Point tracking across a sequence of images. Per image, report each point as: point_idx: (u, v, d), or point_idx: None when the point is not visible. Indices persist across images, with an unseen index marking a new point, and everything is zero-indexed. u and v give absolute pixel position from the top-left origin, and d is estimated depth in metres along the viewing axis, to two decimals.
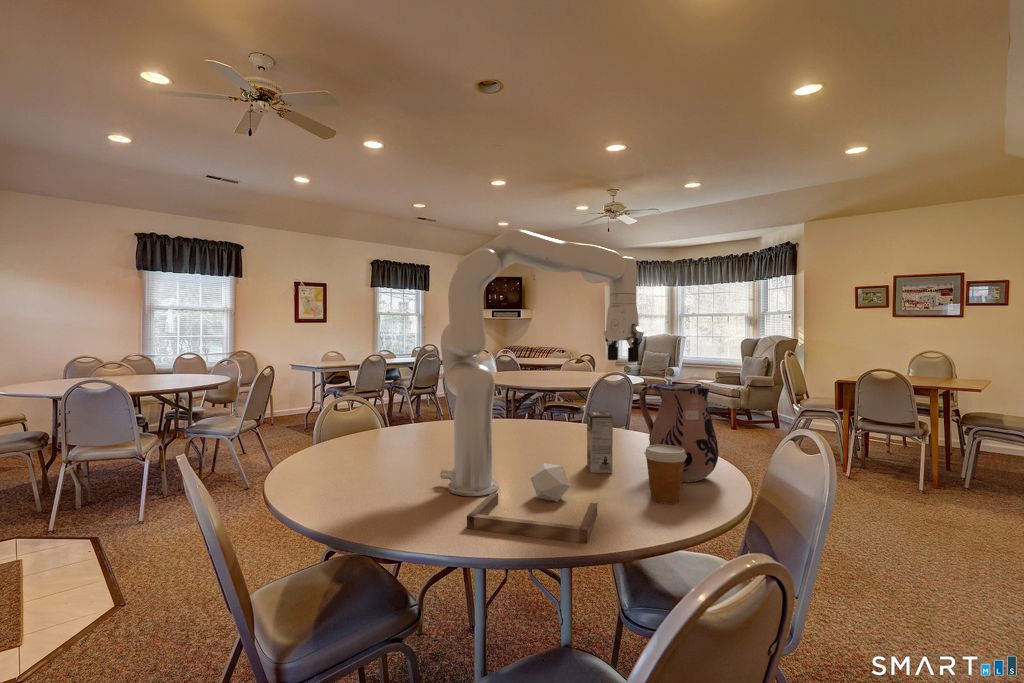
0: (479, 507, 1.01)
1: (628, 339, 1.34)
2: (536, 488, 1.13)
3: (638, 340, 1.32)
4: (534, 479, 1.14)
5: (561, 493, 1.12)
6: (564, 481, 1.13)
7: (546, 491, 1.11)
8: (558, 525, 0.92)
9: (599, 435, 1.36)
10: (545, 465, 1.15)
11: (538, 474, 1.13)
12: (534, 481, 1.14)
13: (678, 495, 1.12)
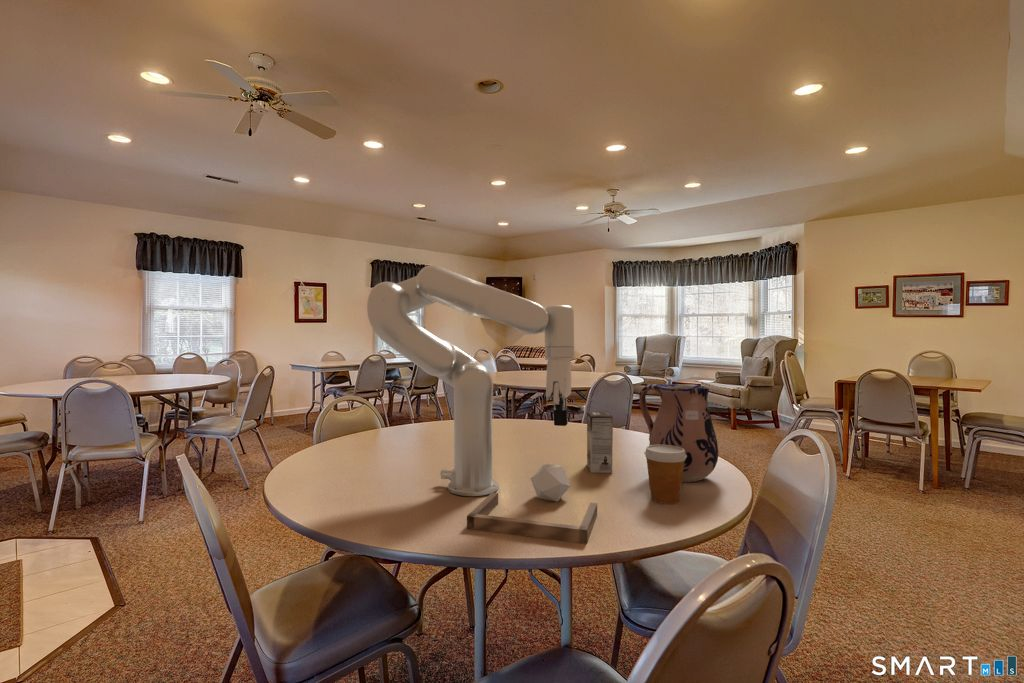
0: (479, 507, 1.01)
1: (553, 400, 1.23)
2: (536, 488, 1.13)
3: None
4: (534, 479, 1.14)
5: (561, 493, 1.12)
6: (564, 481, 1.13)
7: (546, 491, 1.11)
8: (558, 525, 0.92)
9: (599, 435, 1.36)
10: (545, 465, 1.15)
11: (538, 474, 1.13)
12: (534, 481, 1.14)
13: (678, 495, 1.12)
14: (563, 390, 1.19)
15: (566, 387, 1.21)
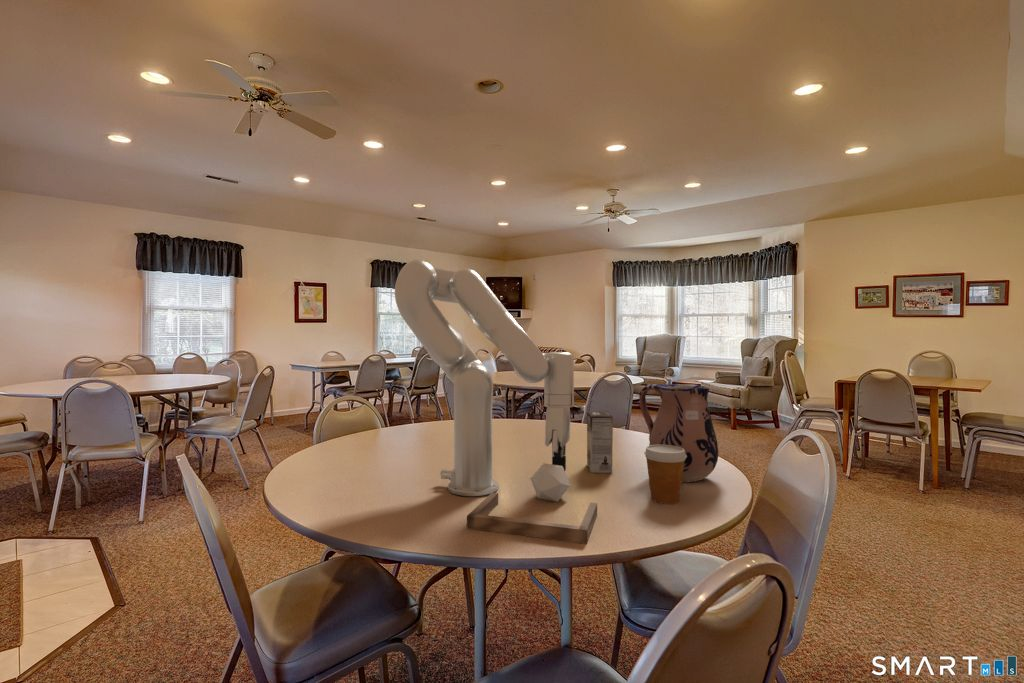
0: (479, 507, 1.01)
1: None
2: (536, 488, 1.13)
3: None
4: (534, 479, 1.14)
5: (561, 493, 1.12)
6: (564, 481, 1.13)
7: (546, 491, 1.11)
8: (558, 525, 0.92)
9: (599, 435, 1.36)
10: (545, 465, 1.15)
11: (538, 474, 1.13)
12: (534, 481, 1.14)
13: (678, 495, 1.12)
14: (562, 439, 1.19)
15: (565, 435, 1.21)
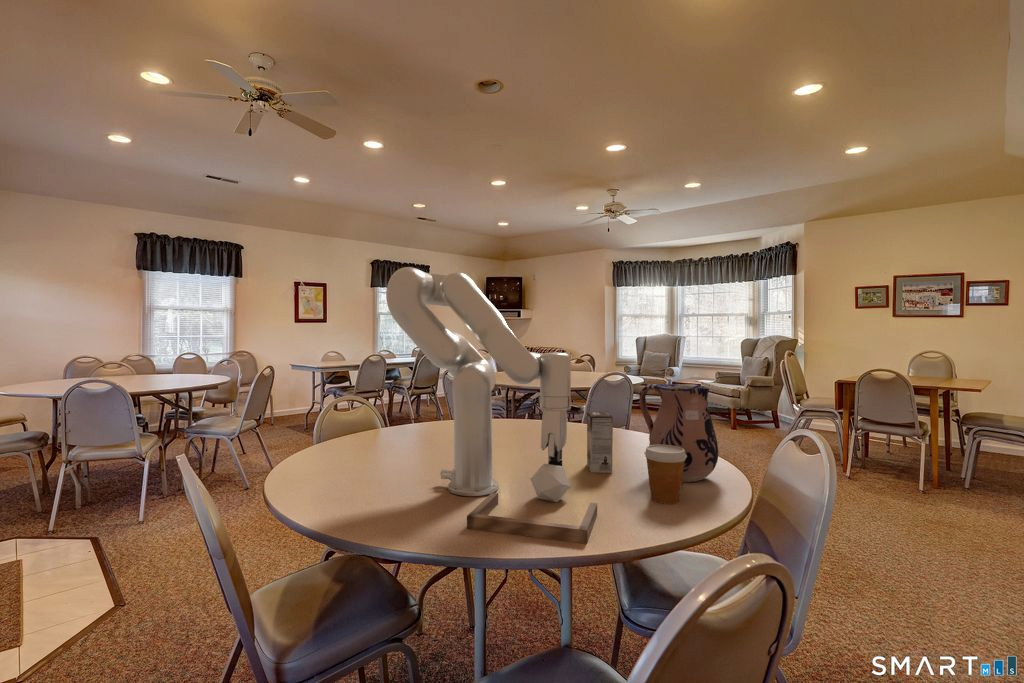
0: (479, 507, 1.01)
1: (548, 451, 1.19)
2: (536, 488, 1.13)
3: None
4: (534, 479, 1.13)
5: (561, 493, 1.12)
6: (564, 481, 1.12)
7: (546, 491, 1.11)
8: (558, 525, 0.92)
9: (599, 435, 1.36)
10: (545, 465, 1.15)
11: (538, 474, 1.13)
12: (534, 481, 1.13)
13: (678, 495, 1.12)
14: (559, 443, 1.15)
15: (561, 439, 1.16)
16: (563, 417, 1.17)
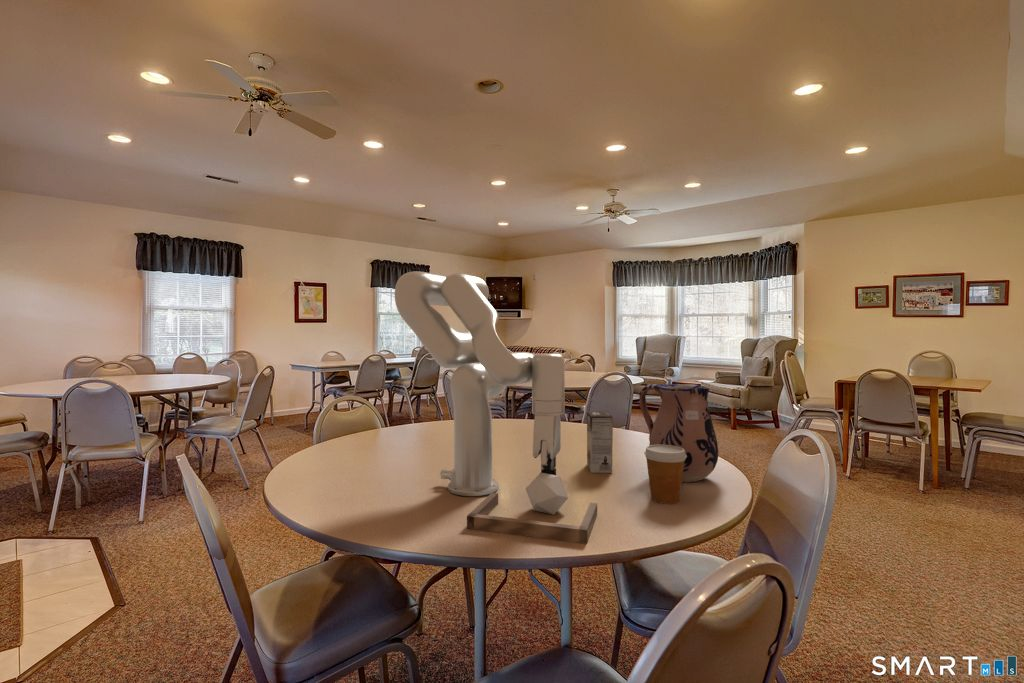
0: (479, 507, 1.01)
1: None
2: (531, 499, 1.05)
3: None
4: (529, 489, 1.06)
5: (558, 505, 1.04)
6: (561, 492, 1.04)
7: (541, 503, 1.03)
8: (558, 525, 0.92)
9: (599, 435, 1.36)
10: (541, 475, 1.07)
11: (533, 484, 1.05)
12: (529, 492, 1.06)
13: (678, 495, 1.12)
14: (552, 450, 1.07)
15: (555, 446, 1.09)
16: (556, 422, 1.09)
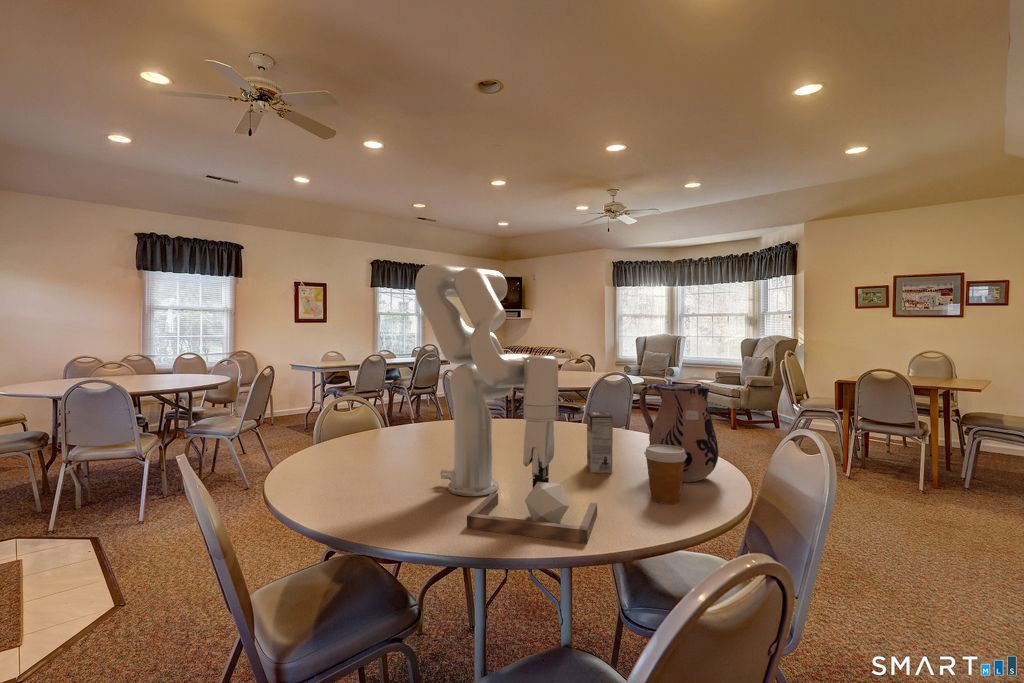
0: (479, 507, 1.01)
1: None
2: (533, 512, 0.98)
3: None
4: (530, 501, 0.99)
5: (561, 516, 0.98)
6: (564, 501, 0.99)
7: (546, 515, 0.96)
8: (558, 525, 0.92)
9: (599, 435, 1.36)
10: (541, 484, 1.01)
11: (535, 495, 0.98)
12: (530, 504, 0.98)
13: (678, 495, 1.12)
14: (543, 458, 1.01)
15: (547, 454, 1.02)
16: (549, 429, 1.03)
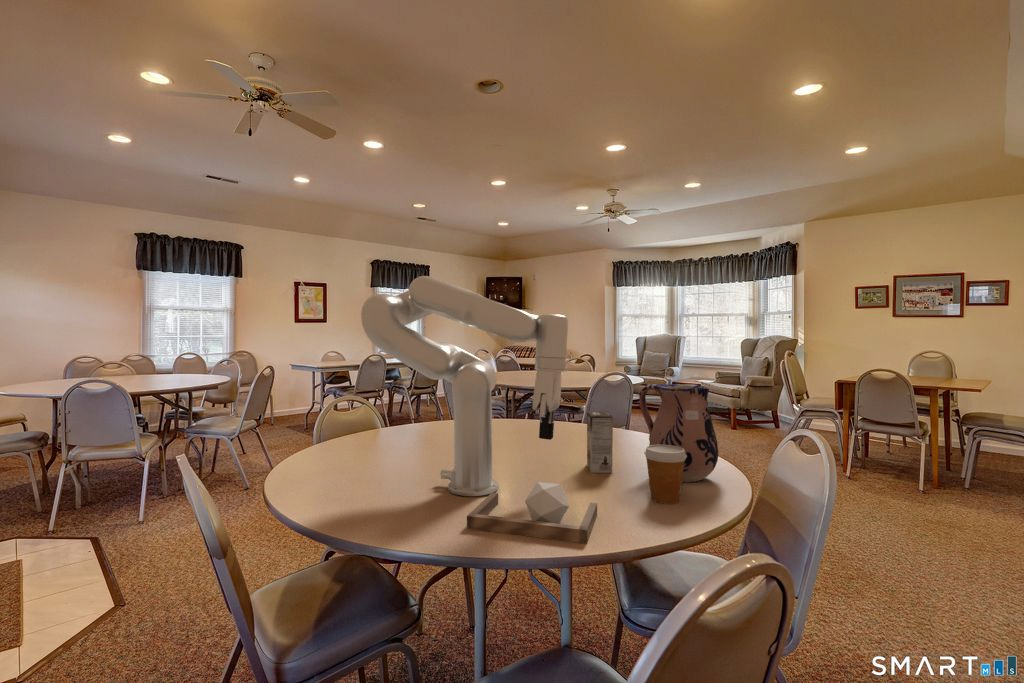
0: (479, 507, 1.01)
1: None
2: (533, 512, 0.98)
3: None
4: (530, 501, 0.99)
5: (561, 516, 0.98)
6: (565, 501, 0.99)
7: (546, 515, 0.96)
8: (558, 525, 0.92)
9: (599, 435, 1.36)
10: (541, 484, 1.01)
11: (535, 496, 0.98)
12: (530, 504, 0.98)
13: (678, 495, 1.12)
14: (550, 403, 1.14)
15: (554, 400, 1.16)
16: (557, 378, 1.17)
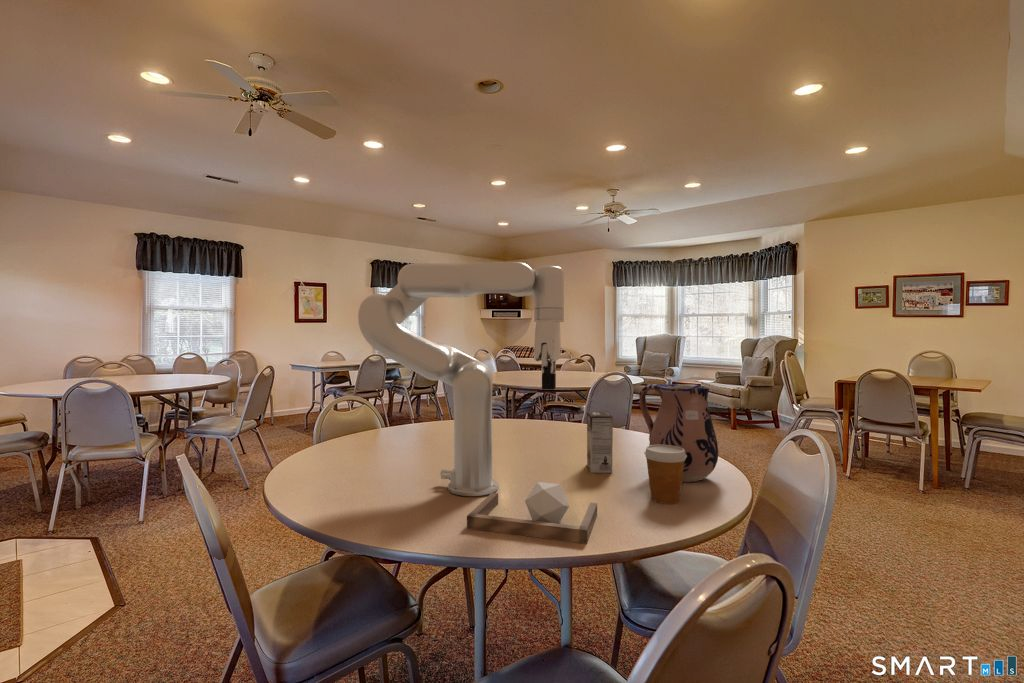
0: (479, 507, 1.01)
1: None
2: (533, 512, 0.98)
3: None
4: (530, 501, 0.99)
5: (561, 516, 0.98)
6: (564, 501, 0.99)
7: (546, 515, 0.96)
8: (558, 525, 0.92)
9: (599, 435, 1.36)
10: (541, 484, 1.01)
11: (535, 496, 0.98)
12: (530, 504, 0.98)
13: (678, 495, 1.12)
14: (551, 352, 1.17)
15: (554, 349, 1.18)
16: (556, 328, 1.19)
